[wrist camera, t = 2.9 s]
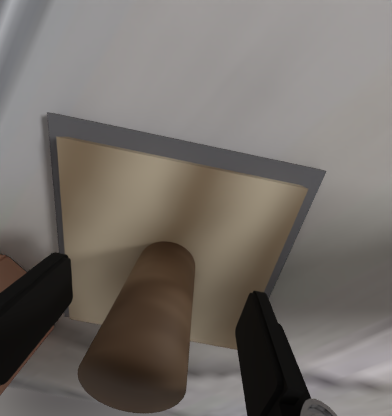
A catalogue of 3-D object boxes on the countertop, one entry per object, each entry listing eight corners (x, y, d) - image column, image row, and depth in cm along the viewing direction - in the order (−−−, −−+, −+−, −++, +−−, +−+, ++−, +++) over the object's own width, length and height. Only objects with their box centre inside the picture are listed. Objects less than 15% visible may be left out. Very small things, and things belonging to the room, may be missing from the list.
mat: (320, 169, 11) (326, 171, 10) (244, 342, 16) (245, 349, 15) (55, 113, 10) (47, 112, 10) (69, 309, 16) (64, 316, 15)
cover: (301, 185, 10) (453, 262, 4) (237, 339, 15) (260, 487, 9) (67, 136, 10) (-173, 136, 4) (76, 309, 15) (-22, 441, 8)
